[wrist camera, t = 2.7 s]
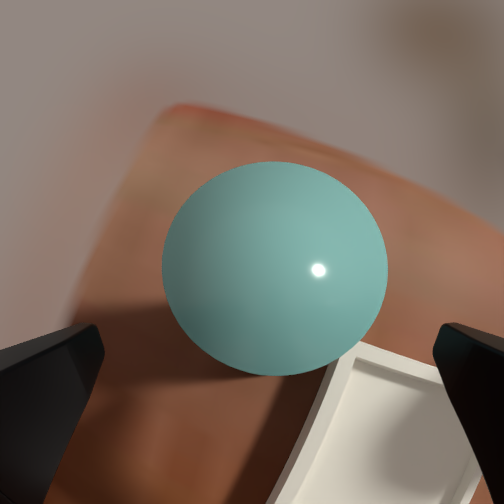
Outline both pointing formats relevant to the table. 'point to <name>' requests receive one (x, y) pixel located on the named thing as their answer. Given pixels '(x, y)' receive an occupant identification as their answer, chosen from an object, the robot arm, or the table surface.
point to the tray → (379, 438)
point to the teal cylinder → (274, 268)
